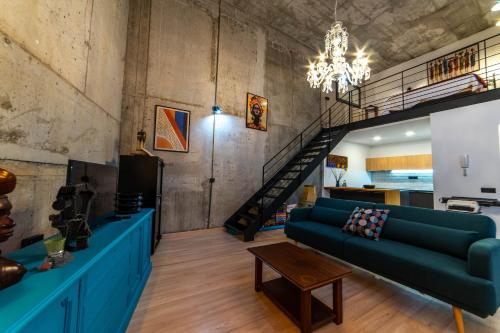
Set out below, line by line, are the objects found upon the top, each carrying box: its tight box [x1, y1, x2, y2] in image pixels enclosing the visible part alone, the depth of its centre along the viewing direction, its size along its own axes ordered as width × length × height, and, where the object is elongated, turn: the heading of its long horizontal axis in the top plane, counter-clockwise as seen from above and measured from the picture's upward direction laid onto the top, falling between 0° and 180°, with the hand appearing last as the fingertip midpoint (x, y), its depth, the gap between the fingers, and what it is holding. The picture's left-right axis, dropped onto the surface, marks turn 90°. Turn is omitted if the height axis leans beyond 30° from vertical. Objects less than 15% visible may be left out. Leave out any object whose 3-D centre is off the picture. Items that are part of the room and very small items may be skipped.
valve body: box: [37, 251, 75, 272], centre depth 103 cm, size 14×10×5 cm
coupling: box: [50, 249, 65, 258], centre depth 103 cm, size 5×5×5 cm
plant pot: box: [43, 237, 67, 256], centre depth 115 cm, size 9×9×9 cm
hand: (70, 235), depth 112 cm, fingers open, 9 cm apart
